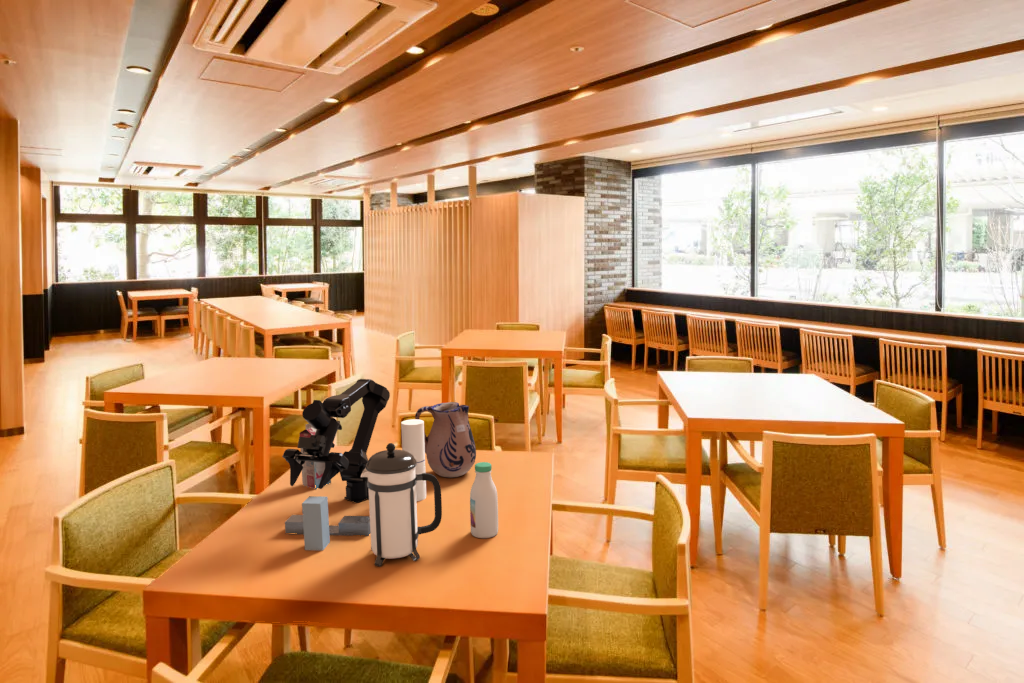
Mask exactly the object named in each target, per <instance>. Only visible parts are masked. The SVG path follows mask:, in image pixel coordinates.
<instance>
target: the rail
mask: <svg viewBox="0 0 1024 683" xmlns="http://www.w3.org/2000/svg"><path fill="white" fill-rule="evenodd" d="M284 530H285V533H284V534H286V533H297V534H296V535H304V528H303V514H291V515H290V516H289V517H288V518H287V519H286V520H285V521H284ZM369 534H370V535H371V532H370V515H344V516H343V517H342V518H341V519H340V520H339V521H338V525H332V524H331V525H330V524H329V535H330V536H353V535H360V536H361V535H365V536H364V537H368V536H370V535H369Z"/></svg>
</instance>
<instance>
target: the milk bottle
mask: <svg viewBox="0 0 1024 683" xmlns="http://www.w3.org/2000/svg"><path fill="white" fill-rule="evenodd" d="M492 469H493V468H492V464H491V463H490V462H487V461H479V462H477V463H474V472H475V478H474V480H473V483H472V485H471V487H470V488H471V489H470V493H469V494H470V496H469V507H470V508H469V509H470V510H469V511H470V512H469V513H470V514H469V515H470V518H469V519H470V520H469V521H470V533H471V536H473V537H475V538H478V539H489V538H493V537H495V536H497V535H498V533H499V502H498V501H499V500H498V499H499V498H498V490H497V487H496V484H495V482H494V481H493V478H492Z"/></svg>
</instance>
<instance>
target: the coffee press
mask: <svg viewBox="0 0 1024 683" xmlns="http://www.w3.org/2000/svg"><path fill="white" fill-rule="evenodd" d="M385 448H386V449H385V450H381V451H378V452H376V453H373V454H372V455H371V456H369V458H368V462H367V463H366V468H365V469H364V470H363V472H362V474H361V477H368V478H367V487H368V489H369V499H368V505H369V506H368V507H369V509H368V511H369V516H370V532H371V533H370V549H371V551H372V553H373V554H374V555H375V556H376V558H375V561H374V566H376V567H379V568H381V567H382V566H383V564H384V562H385V560H386V559H389V560H390V559H392V560H393V559H400V558H404V557H407V556H409V558H411V560H412V561H413V562H416V561H418V560H419V559H420V558H421V556H420V554H419V552H418V550H417V548H418V545H419V540H418V539H419V536H420V535H423V534H428V533H430V532H431V533H432V532H433V531H435V530H437V528H438V527H439V526H440V524H441V521H442V519H443V518H442V517H443V514H442V513H443V509H442V508H443V507H442V506H443V504H442V488H441V487H442V486H441V484H440V481H439V480H438V478H437V477H436V476H435V475H434V474H433V473H432V474H431V473H428V472H426V473H422V474H416V473H415V467H416V465H417V461H416V459H414V456H413V455H412V454H411V453H409V452H407V451H404V450H402V449H396V445H395V444H394V443H393V442H390V443H387V445H386V447H385ZM418 480H423V481H424V480H426V482H430V483H431V484H432V485H433V496H434V499H433V500H434V519H433V521H432V522H431V523H430V524H428V525H424V526H418V510H417V509H418V508H417V507H418V505H417V502H418V501H416V483H417V481H418Z"/></svg>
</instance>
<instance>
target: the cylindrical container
mask: <svg viewBox="0 0 1024 683" xmlns="http://www.w3.org/2000/svg"><path fill="white" fill-rule="evenodd" d="M419 419H420V418H419ZM419 419H415V418H413V419H412V418H411V419H406V420H403V421H401V422H400V427H401V429H400V430H401V450H404V451H407V452H409V453H411V454H412V455H413V456H414V459H416V461H417V465H416V467H415V473H416V474H422V473H427V472H426V453H425V442H424V432H425V421H424V420H423V419H420V420H419ZM426 499H427V480H424V481H423V480H418V481H417V483H416V501H417V502H420V501H424V500H426Z"/></svg>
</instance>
